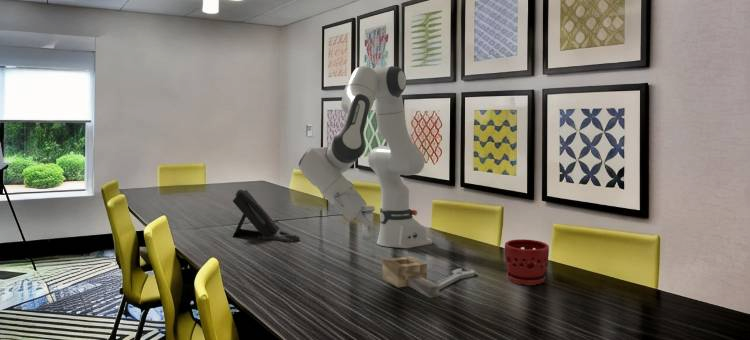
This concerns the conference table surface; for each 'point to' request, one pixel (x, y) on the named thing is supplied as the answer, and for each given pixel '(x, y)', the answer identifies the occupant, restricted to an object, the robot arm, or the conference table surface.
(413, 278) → the mortise block
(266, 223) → the office phone
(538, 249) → the plant pot
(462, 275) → the adjustable wrench
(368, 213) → the clear glass bottle
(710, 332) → the conference table surface
